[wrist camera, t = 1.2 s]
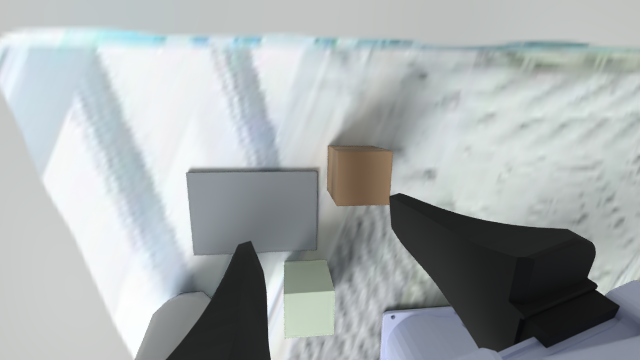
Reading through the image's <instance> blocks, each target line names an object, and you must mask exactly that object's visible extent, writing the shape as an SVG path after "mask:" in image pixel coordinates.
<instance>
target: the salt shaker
mask: <svg viewBox="0 0 640 360" xmlns="http://www.w3.org/2000/svg"><path fill="white" fill-rule="evenodd" d="M210 301H211V298H209V297H208V296H207V295H206V294H204V293H203V292H202V291H201V292H192V293H183V294H180V295H178V296H176V297H174V298H172V299H170V300H168V301H167V302H166V303H164V304H163V305H162V306H161V307H160V308H159V309H158V310H157V311H156V312H155V313H154V314H153V316H152V318H151V321H150V323H149V326H148V328H147V331H146V333H145V336H144V338H143V341H142V343H141V346H140V348H139V350H138V353H137V355H136V358H135V360H166V359H167V357H168V356H169V355H170V354H171V353H172V352H173V351H174V349H175V348H176V347H177V346H178V345H179V344H180V342H181V341H182V340H183V339H184V337H185V336H186V335H187V334H188V332H189V331H190V330H191V328H192V327H193V326H194V324H195V323H196V322H197V320H198V319H199V318H200V316H201V315H202V313H203V312H204V310H205V309H206V307H207V305H208V304H209V302H210Z"/></svg>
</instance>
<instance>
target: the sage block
mask: <svg viewBox="0 0 640 360" xmlns="http://www.w3.org/2000/svg"><path fill="white" fill-rule="evenodd" d="M334 304H335V290H334V286H333V283H332V279H331V276H330V272H329V269H328V265H327V262H326V260H309V261H290V262H284V334H285V339H286V338H297V337H309V336H321V335H333V334H334Z"/></svg>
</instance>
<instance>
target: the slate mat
mask: <svg viewBox="0 0 640 360" xmlns="http://www.w3.org/2000/svg"><path fill="white" fill-rule="evenodd" d="M186 178H187V188H188V199H189V209H190V220H191V230H192V241H193V251H194V255H215V254H234V252H235V250H236V248H237V246H238V244H241V243H245V242H248V241H251V242H252V244H253V247H254V249H255V252H256V253H259V252H281V251H303V250H316V215H317V171H272V172H187V173H186Z"/></svg>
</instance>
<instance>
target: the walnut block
mask: <svg viewBox="0 0 640 360" xmlns="http://www.w3.org/2000/svg"><path fill="white" fill-rule="evenodd" d="M392 158H393V151H389V150H385V149H382V148H378V147H374V146H328V169H327V190H328V192H329V194H330V195H331V197H332V199H333V200H334V202H335V204H336V205H337V206H361V205H389V203H390V202H389V196H390V188H391V173H392Z"/></svg>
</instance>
